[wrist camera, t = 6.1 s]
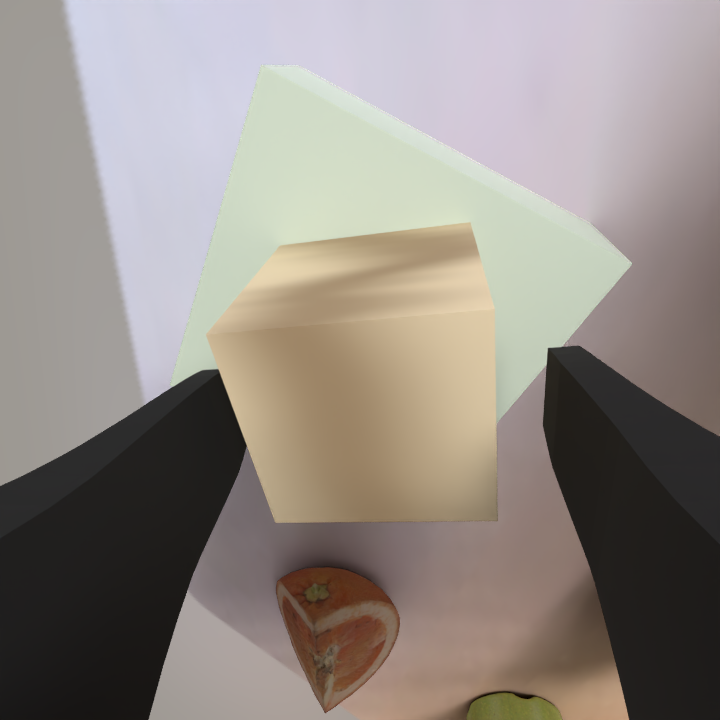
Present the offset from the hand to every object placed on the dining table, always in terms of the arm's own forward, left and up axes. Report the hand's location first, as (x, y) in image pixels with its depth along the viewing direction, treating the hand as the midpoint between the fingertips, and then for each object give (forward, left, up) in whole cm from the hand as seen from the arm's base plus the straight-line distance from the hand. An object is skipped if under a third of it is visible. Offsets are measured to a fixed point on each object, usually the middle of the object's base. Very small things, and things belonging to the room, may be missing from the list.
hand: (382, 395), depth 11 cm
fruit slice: (-6, +17, -7) cm, 19 cm away
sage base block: (0, 0, -7) cm, 7 cm away
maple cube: (0, 0, -3) cm, 3 cm away
